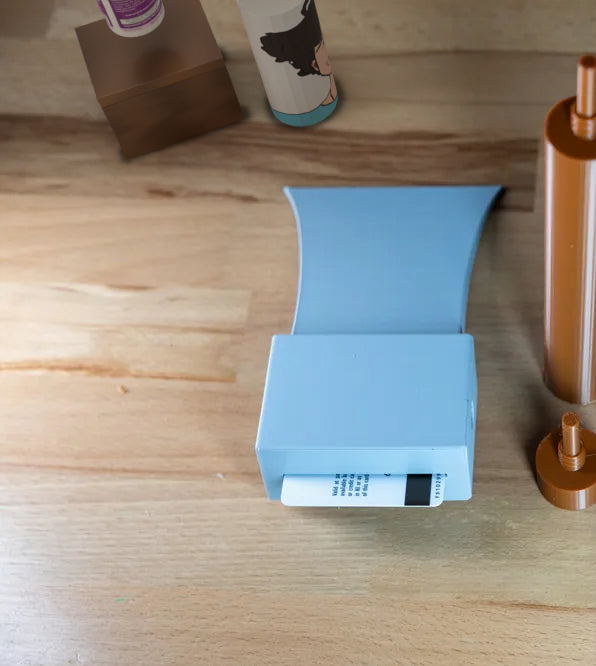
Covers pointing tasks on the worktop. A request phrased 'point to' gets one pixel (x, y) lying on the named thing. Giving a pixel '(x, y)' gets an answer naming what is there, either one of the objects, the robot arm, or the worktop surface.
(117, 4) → the pill bottle
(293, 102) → the cup
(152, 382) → the worktop surface
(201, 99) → the wooden lidded box
